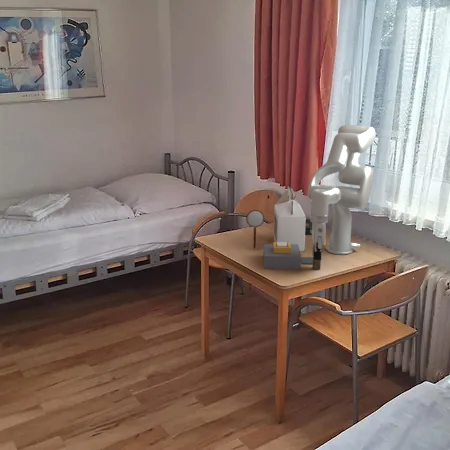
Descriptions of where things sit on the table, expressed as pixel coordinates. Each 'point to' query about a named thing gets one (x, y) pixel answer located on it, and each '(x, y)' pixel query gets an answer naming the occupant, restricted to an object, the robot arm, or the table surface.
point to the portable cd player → (308, 227)
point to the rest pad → (307, 260)
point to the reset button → (281, 244)
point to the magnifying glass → (255, 221)
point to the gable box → (289, 220)
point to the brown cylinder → (316, 261)
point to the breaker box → (281, 256)
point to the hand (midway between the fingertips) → (316, 257)
